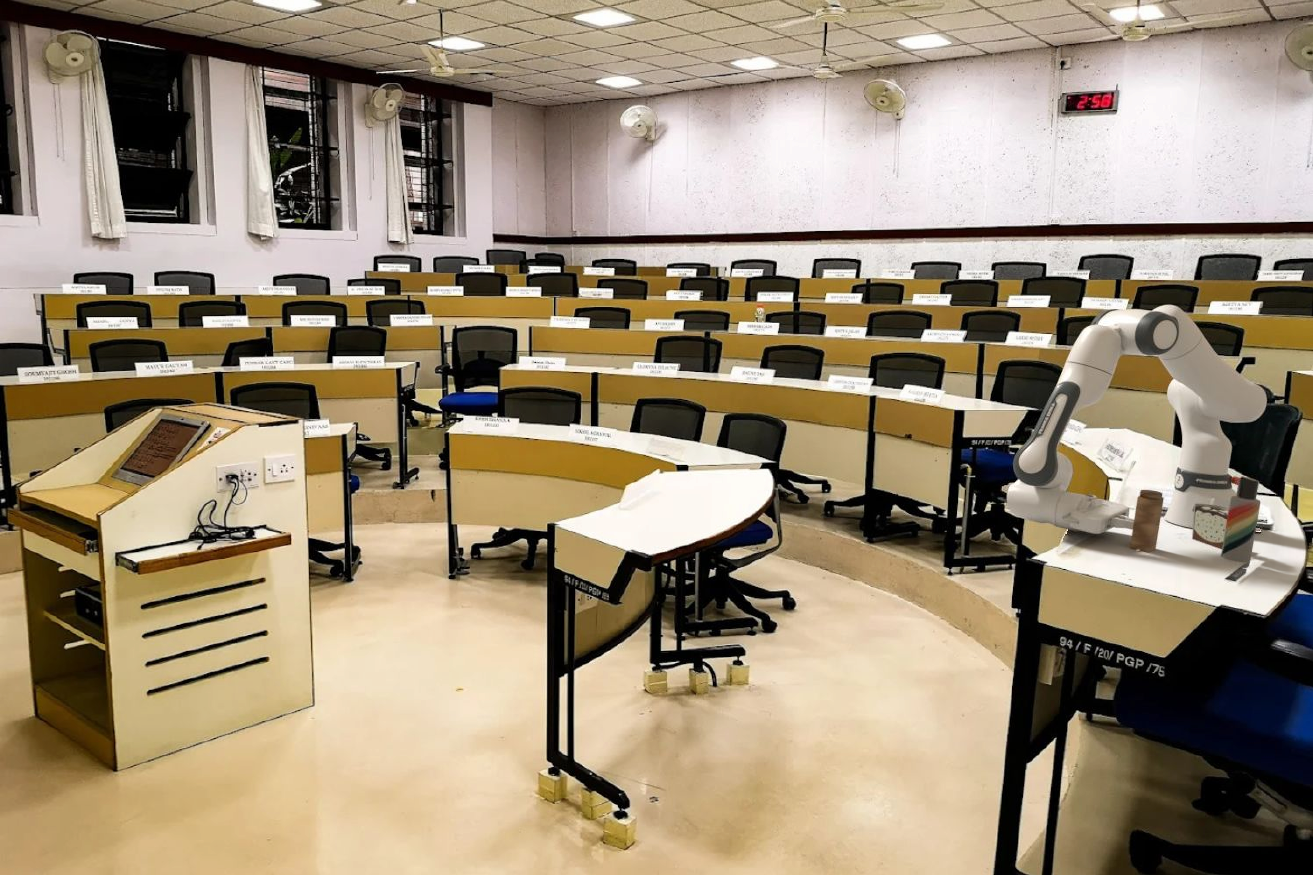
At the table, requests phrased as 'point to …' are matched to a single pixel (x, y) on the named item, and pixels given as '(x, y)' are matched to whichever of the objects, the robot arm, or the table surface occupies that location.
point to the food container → (1209, 524)
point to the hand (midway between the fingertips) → (1136, 525)
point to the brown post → (1147, 521)
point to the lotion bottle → (1241, 522)
